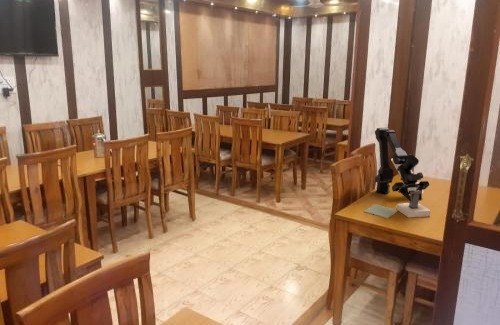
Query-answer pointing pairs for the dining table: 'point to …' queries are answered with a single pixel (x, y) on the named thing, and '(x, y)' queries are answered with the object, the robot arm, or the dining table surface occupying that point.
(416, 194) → the t key
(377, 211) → the pad
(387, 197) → the dining table surface
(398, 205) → the socket block
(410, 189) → the cylindrical container
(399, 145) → the robot arm
